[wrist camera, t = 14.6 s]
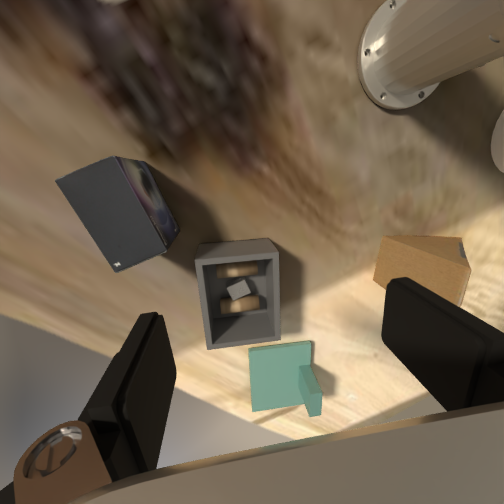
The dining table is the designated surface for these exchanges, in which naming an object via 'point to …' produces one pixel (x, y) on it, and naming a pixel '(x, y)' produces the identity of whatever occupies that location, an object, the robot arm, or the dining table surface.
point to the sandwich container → (425, 264)
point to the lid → (284, 378)
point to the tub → (263, 284)
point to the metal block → (238, 287)
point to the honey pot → (498, 143)
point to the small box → (121, 210)
